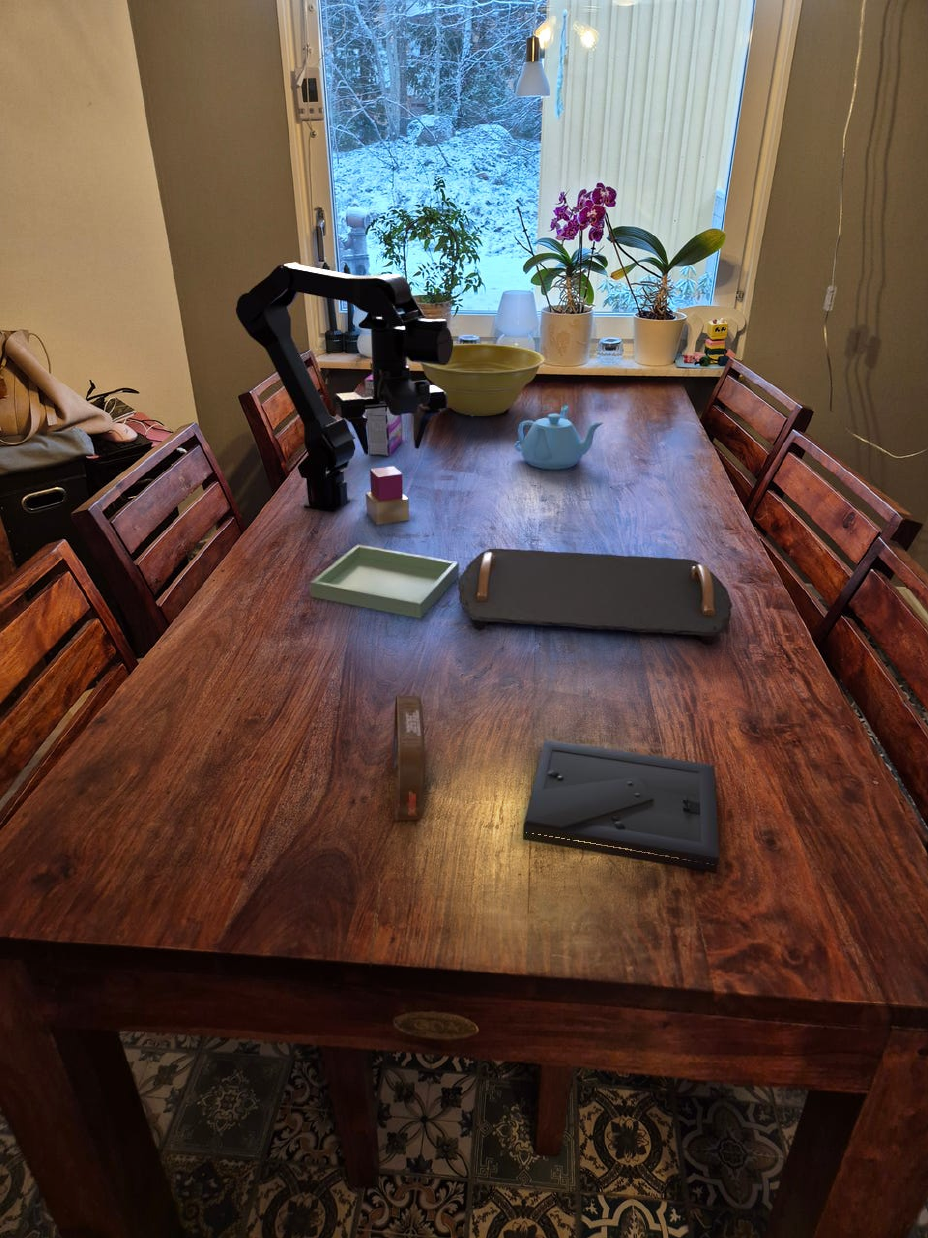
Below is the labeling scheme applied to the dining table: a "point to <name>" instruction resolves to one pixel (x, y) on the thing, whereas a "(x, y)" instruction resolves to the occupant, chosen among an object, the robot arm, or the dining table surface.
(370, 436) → the candy bar box
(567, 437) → the teapot
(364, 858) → the dining table surface
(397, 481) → the mulberry block
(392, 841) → the dining table surface
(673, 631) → the serving tray
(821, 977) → the dining table surface
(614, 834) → the picture frame
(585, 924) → the dining table surface
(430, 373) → the planter bowl
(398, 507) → the birch block
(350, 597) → the green tray
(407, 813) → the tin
